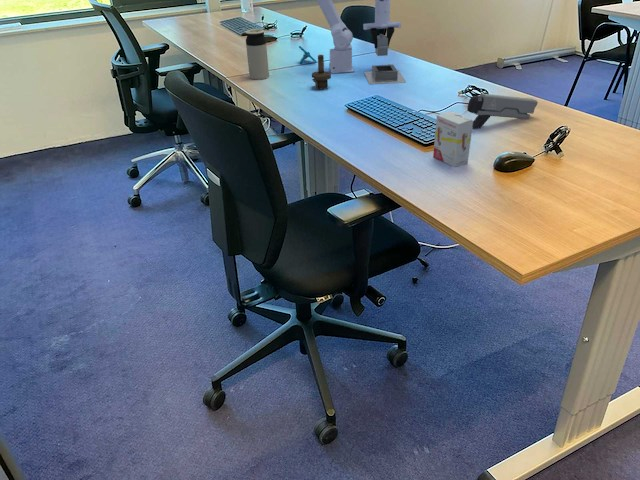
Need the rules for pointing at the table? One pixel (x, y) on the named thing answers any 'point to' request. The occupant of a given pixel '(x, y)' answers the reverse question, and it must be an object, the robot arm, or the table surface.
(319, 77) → the industrial component
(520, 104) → the gun
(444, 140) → the ink box
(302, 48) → the teal angled stand
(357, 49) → the table surface
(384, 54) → the servo
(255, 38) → the travel mug
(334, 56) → the robot arm
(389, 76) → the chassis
